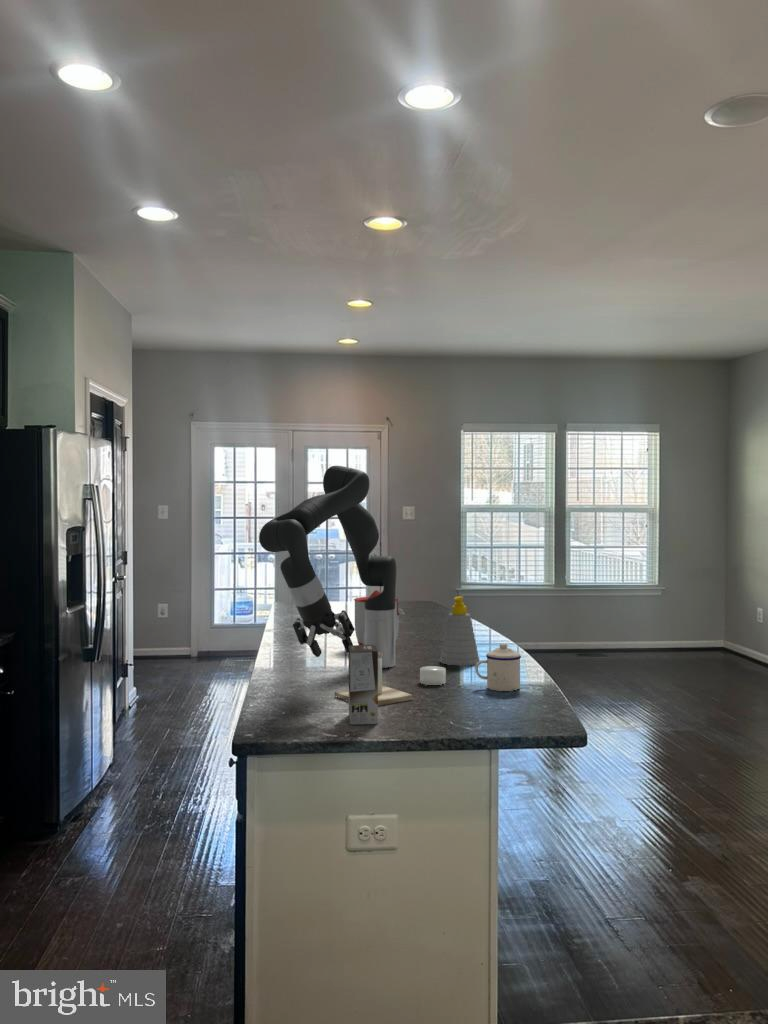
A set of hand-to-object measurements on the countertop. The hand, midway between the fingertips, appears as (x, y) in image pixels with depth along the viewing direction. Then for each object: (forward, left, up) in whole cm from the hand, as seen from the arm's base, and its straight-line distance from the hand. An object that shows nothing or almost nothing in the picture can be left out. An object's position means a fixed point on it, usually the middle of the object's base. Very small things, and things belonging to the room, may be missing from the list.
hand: (334, 652), depth 187 cm
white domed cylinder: (-5, +34, -13) cm, 37 cm away
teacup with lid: (+10, +44, -13) cm, 47 cm away
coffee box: (+15, -2, -13) cm, 20 cm away
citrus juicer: (-58, +53, -13) cm, 79 cm away
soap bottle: (-23, +59, -13) cm, 64 cm away
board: (0, +11, -12) cm, 17 cm away
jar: (+1, +11, -11) cm, 16 cm away
